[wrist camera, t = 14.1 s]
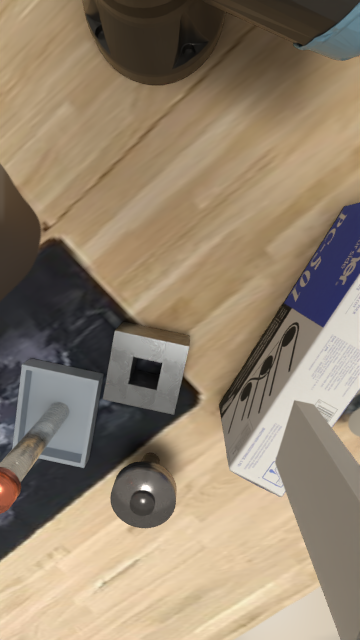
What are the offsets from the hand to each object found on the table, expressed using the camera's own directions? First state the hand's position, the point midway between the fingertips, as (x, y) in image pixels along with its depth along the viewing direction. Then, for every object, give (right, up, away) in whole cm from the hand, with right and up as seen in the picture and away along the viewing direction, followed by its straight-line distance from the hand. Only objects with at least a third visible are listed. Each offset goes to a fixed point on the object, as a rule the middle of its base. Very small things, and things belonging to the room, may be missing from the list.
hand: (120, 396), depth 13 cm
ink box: (+18, +2, +32) cm, 36 cm away
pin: (-15, -10, +35) cm, 39 cm away
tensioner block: (-2, -3, +33) cm, 33 cm away
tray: (-15, -10, +35) cm, 39 cm away
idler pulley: (-2, -17, +36) cm, 40 cm away
